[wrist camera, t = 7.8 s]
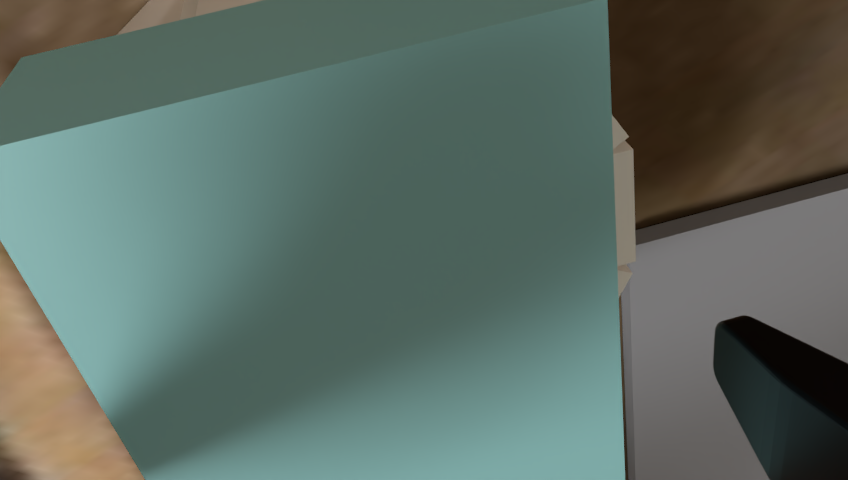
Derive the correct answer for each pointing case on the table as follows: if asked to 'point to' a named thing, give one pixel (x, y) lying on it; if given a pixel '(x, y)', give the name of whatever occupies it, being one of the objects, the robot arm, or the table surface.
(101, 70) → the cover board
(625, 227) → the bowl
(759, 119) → the table surface
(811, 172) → the table surface
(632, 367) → the mat
